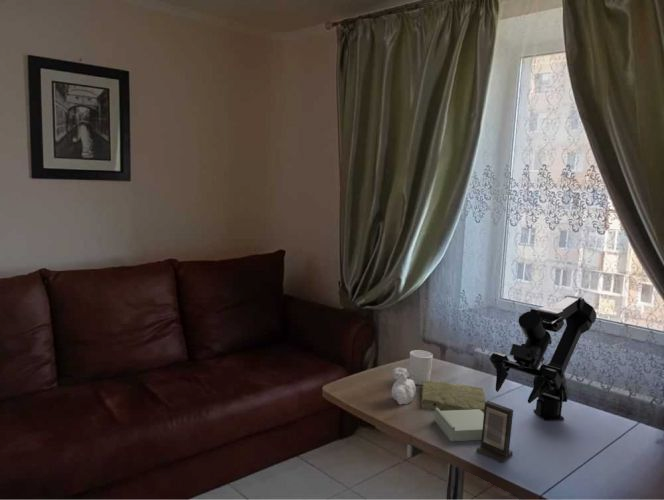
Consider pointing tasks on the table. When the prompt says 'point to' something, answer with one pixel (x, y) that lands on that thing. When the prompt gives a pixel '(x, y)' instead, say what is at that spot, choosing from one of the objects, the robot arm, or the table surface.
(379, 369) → the table surface
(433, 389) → the decorative tile
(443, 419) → the picture ledge
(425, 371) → the white cup
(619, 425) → the table surface
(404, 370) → the bust
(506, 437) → the dark photo frame
